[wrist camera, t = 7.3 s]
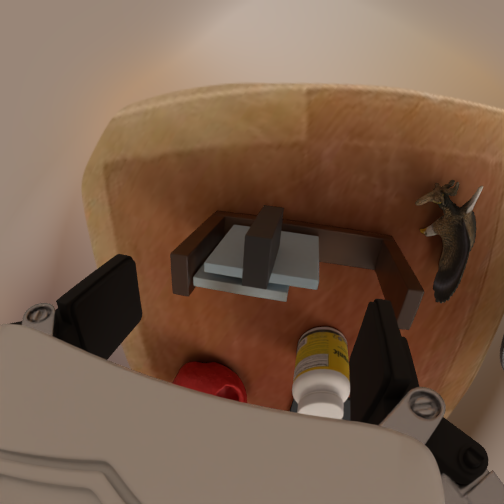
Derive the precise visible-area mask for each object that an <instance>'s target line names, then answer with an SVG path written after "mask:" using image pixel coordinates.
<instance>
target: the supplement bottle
mask: <svg viewBox="0 0 504 504" xmlns="http://www.w3.org/2000/svg"><path fill="white" fill-rule="evenodd" d="M292 394H293V397H294V399H295V401H296V402H297V403H298V410H297V413H301V414H307V415H313V416H320V417H328V418H336V419H342V418H343V414H344V411H343V408H344V404H343V403H344V402H345V401H346V400H347V398H348V396H349V394H350V375H349V361H348V348H347V342H346V339H345V337H344V335H343V334H342V333H341V332H339V331H338V330H336V329H334V328H330V327H317V328H313V329H311V330H309V331H307V332H306V333H304V334H303V335H302V336H301V338H300V340H299V342H298V347H297V355H296V364H295V372H294V380H293V387H292Z"/></svg>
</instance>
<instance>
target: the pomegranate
mask: <svg viewBox="0 0 504 504" xmlns="http://www.w3.org/2000/svg"><path fill="white" fill-rule="evenodd" d="M173 384H176V385H179V386H182V387H186V388H189V389H193V390H196V391H200V392H203V393H207V394H211V395H215V396H218V397H222V398H226V399H230V400H235V401H239V402H243V403H247V394H246V390H245V387H244V385H243V383H242V381H241V380H240V378H239V377H238V375H237V374H236V373H234V372H233V371H232V370H230V369H229V368H228V367H226V366H223V365H221V364H219V363H216V362H211V363H201V362H196V361H194V362H189V363H187V364H185V365H184V366H183V367H182V368H181V369H180V371H179V372H178V374H177V376H176V377H175V379H174V381H173Z"/></svg>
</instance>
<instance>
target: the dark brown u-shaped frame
mask: <svg viewBox="0 0 504 504" xmlns="http://www.w3.org/2000/svg"><path fill="white" fill-rule="evenodd" d="M256 217H257V216H255V215H247V214H239V213H231V212H223V211H216V212H215V213H213V214H212V215H211V216H210V217H209V218H208V219H207V220H206V221H205V222H204V223H203V224H202V225H200V226H199V227H198V228H197V229H196V230H195V231H194V232H193V233H192V234H191V235H190V236H189V237H187V238H186V239H185V240H184V241H183V242H182V243H181V244H180V245H179V246H178V247H177V248H176V249H175V250H174V251H173V252H172V253H171V254H170V257H171V274H172V288H173V293H174V294H178V295H183V296H189V295H190V294H191V293H192V291H193V290H194V288H195V287H196V286H198V287H203V288H208V289H214V290H219V291H225V292H230V293H236V294H242V295H248V296H254V297H260V298H266V299H272V300H278V301H284V302H286V301H287V295H288V290H289V285H282V284H276V283H268V286H267V289H266V290H265V289H259V288H253V287H247V286H242V278H238V277H232V276H226V275H220V274H215V273H209V272H204V262H205V261H206V260H207V258H208V257H209V256H210V254H211V253H212V252H213V251H214V249H215V248H216V247H217V246H218V244H219V243H220V242H221V240H222V239H223V238H224V237H225V235H226V234H227V233H228V232H229V230H230V229H231V228H232V227H233V225H241V226H248V227H251V225H252V224H253V222H254V220H255V219H256ZM281 231H285V232H292V233H298V234H305V235H312V236H318V237H319V262H325V263H332V264H339V265H345V266H352V267H359V268H365V269H372V270H375V272H376V274H377V277H378V280H379V283H380V286H381V289H382V292H383V295H384V298H385V300H389V301H391V304H392V307H393V310H394V313H395V317H396V320H397V323H398V327H399V329H406V330H409V329H410V327H411V324H412V322H413V320H414V317H415V315H416V312H417V310H418V307H419V305H420V302H421V300H422V297H423V294H424V290H423V288H422V286H421V285H420V283H419V281H418V279H417V277H416V276H415V274H414V272H413V270H412V269H411V267H410V265H409V264H408V262H407V260H406V259H405V257H404V255H403V254H402V252H401V250H400V249H399V247H398V245H397V244H396V242H395V240H394V239H393V237H392V236H388V235H382V234H376V233H370V232H364V231H358V230H352V229H346V228H339V227H333V226H326V225H320V224H313V223H306V222H299V221H292V220H285V219H283V220H282V229H281Z"/></svg>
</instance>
